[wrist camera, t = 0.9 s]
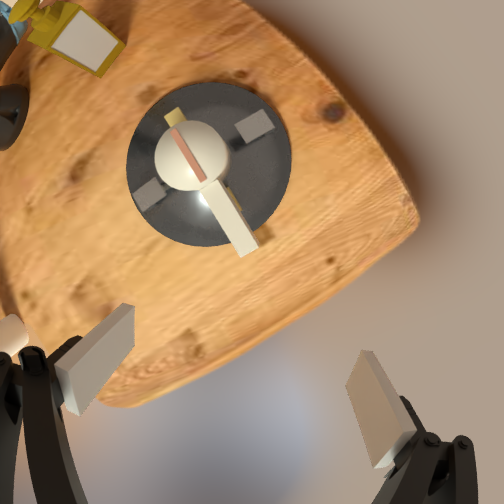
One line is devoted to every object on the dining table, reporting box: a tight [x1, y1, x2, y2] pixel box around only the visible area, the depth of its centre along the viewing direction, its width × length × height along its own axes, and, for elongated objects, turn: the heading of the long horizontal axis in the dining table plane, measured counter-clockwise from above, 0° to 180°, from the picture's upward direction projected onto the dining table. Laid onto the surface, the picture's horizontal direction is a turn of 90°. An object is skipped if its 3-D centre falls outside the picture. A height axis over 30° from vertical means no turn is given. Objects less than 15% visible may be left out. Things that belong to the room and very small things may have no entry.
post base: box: [126, 82, 291, 247], centre depth 35 cm, size 24×24×4 cm
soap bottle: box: [8, 0, 126, 78], centre depth 21 cm, size 7×13×24 cm, turn 143°
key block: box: [155, 107, 259, 257], centre depth 32 cm, size 22×8×8 cm, turn 31°
